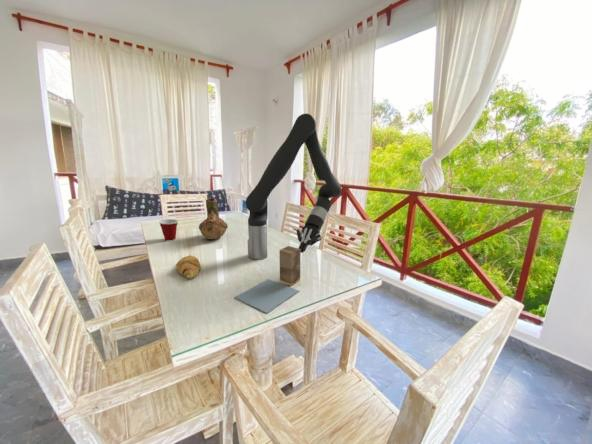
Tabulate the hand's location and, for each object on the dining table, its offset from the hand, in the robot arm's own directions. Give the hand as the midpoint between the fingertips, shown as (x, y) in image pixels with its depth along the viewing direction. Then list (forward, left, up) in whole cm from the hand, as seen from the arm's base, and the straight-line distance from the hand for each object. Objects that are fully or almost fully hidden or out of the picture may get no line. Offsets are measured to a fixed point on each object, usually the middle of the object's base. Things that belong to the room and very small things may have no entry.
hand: (300, 251), depth 108 cm
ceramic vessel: (-59, +44, -11) cm, 74 cm away
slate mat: (-10, -18, -11) cm, 23 cm away
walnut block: (-4, -6, -11) cm, 13 cm away
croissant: (-50, -2, -11) cm, 52 cm away
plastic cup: (-85, +39, -11) cm, 94 cm away
